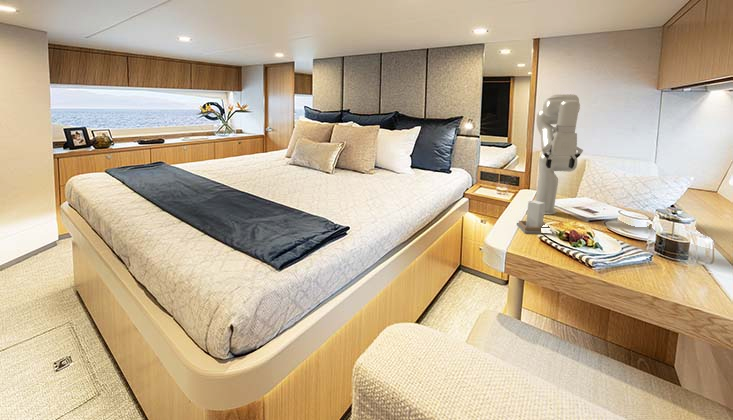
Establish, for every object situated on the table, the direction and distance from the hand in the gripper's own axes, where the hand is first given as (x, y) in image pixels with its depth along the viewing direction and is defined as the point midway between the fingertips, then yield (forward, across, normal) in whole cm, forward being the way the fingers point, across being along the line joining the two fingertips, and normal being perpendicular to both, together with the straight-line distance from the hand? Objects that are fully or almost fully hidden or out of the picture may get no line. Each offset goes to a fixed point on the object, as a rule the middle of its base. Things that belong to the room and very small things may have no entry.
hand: (559, 167), depth 166 cm
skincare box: (+26, -10, -9) cm, 30 cm away
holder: (+27, -10, -9) cm, 30 cm away
